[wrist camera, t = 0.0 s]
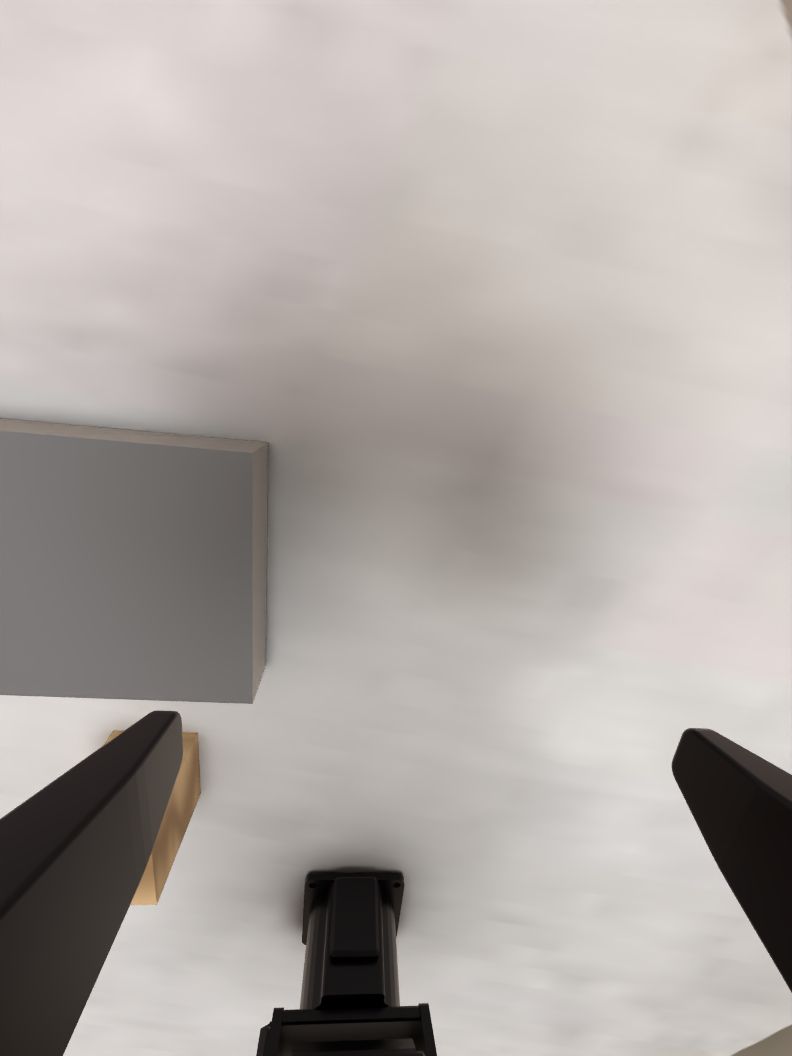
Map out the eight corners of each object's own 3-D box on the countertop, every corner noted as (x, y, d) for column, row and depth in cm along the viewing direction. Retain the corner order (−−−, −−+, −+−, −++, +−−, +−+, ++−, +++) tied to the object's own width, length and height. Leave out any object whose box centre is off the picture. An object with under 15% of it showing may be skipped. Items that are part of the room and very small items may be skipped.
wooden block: (200, 792, 27) (156, 904, 21) (122, 791, 26) (55, 905, 21) (197, 732, 25) (149, 835, 20) (114, 730, 25) (40, 834, 19)
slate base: (265, 665, 24) (252, 703, 21) (27, 654, 23) (-20, 694, 20) (267, 442, 20) (252, 452, 17) (-17, 416, 19) (-83, 423, 16)
